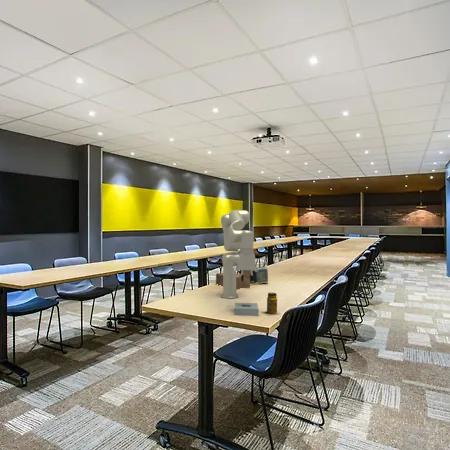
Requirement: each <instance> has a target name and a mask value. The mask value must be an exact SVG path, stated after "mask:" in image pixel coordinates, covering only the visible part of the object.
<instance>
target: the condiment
mask: <svg viewBox="0 0 450 450" xmlns="http://www.w3.org/2000/svg"><path fill="white" fill-rule="evenodd" d="M261 313H263V314H264V315H266V316H271V315H275V316H276V315H280V313H279V312H278V297H277V292H268V293H267V297H266V310H265V311H261Z"/></svg>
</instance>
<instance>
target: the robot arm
mask: <svg viewBox="0 0 450 450" xmlns="http://www.w3.org/2000/svg"><path fill="white" fill-rule="evenodd" d="M220 217H221V218H220V224H221V228H222V230H223V231H222V232H223V247H224V248H223V249H224V250H225V251H226V252H227V253H225V254H224V253H223V255H222V258H221V260H222V273H223V287H222V293H221V294H220V297H221V298H223V299H236V298H239V294H237V289H236V274H237V273H238V274H240V275H241V280H242V282H243V271H244V270H247V271H250V273H251V274H250V282H251V281H252V275H253V274H254V273H255V272H257V271H258V268H259V267H257V265H256V255H255V253H254V232H253V231H252V230H246V229H245V230H243V229H244V228H245V226H246V225H247V224H248V223H249V222H250V219H251V215H250V212H249V211H248V210H245V209H243V210H242V209H233V210H231V211H230V212H229V213H225V214H222V215H221V216H220ZM233 252H234V253H233ZM235 252H236V253H235ZM237 252H238V253H237ZM234 267H235V268H234ZM253 270H254V271H253ZM252 271H253V272H252Z"/></svg>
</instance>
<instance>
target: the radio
mask: <svg viewBox="0 0 450 450" xmlns="http://www.w3.org/2000/svg"><path fill="white" fill-rule="evenodd" d="M257 268H258V271H257V272H255V273H254V274H253V275H252V281H251V282H250V284H255V285H263V284H262V283H268V284H269V282H268V281H269V271H268V267H266V266H263V267H257ZM253 271H254V270H253ZM253 271H252V272H253ZM250 274H251V273H250Z"/></svg>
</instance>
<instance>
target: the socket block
mask: <svg viewBox="0 0 450 450" xmlns="http://www.w3.org/2000/svg"><path fill="white" fill-rule="evenodd" d="M233 313H234V316H252V317H253V316H254V317H257V316H259V305H258V302H257V303H256V302H234V312H233Z"/></svg>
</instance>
